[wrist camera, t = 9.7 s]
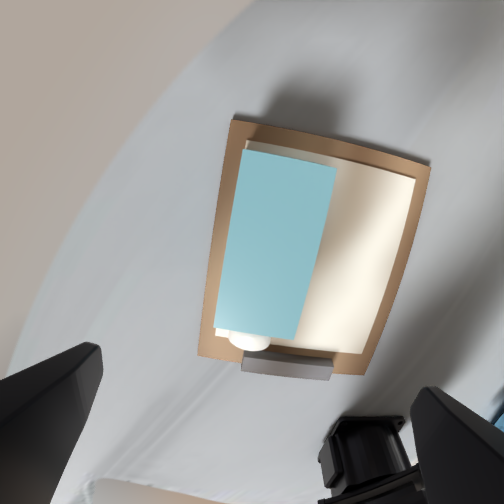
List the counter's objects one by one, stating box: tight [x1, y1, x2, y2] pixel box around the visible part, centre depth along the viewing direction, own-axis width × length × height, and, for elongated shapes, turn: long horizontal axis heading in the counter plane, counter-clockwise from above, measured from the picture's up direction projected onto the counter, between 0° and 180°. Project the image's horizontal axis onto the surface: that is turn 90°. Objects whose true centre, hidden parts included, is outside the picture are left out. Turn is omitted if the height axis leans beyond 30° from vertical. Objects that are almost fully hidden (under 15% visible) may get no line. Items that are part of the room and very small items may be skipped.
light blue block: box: [213, 149, 337, 351], centre depth 16 cm, size 10×4×4 cm, turn 170°
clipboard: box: [197, 119, 431, 381], centre depth 19 cm, size 12×15×1 cm
